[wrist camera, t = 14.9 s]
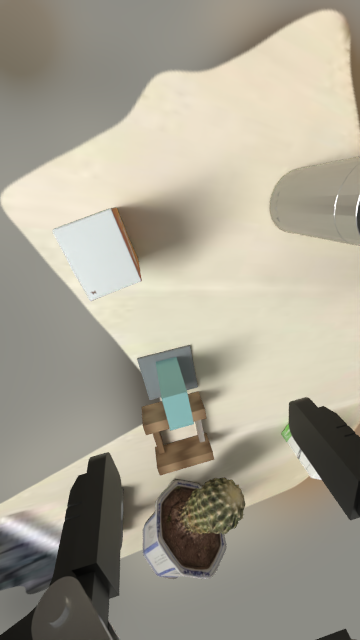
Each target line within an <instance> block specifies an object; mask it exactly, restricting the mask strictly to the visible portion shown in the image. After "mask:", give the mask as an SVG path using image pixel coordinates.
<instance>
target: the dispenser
mask: <svg viewBox="0 0 360 640" xmlns="http://www.w3.org/2000/svg"><path fill="white" fill-rule="evenodd" d="M188 398H189V403H190V408H191V412H192V417H193V422H195V424H196V429H197V434H198V435H197V436H194V437H190V438H187V439H183V440H179V441H176V442H172V443H169V444H165V445H164V444H163V441H162V438H161V434H160V431H163V430H166V429H170V427H169V424H168V420H167V416H166V413H165V409H164V405H163V402H162V401H161V402H158V403H154V404H151V405H147V406H143V407H142V419H143V428H144V431H145V434H146V435H148V434H152V433H153V436H154V439H155V442H156V445H157V447H155V451H156V461H157V469H158V472H159V474H160V475H163V474H166V473H170V472H173V471H177V470H180V469H183V468H187V467H190V466H194V465H197V464H200V463H204V462H207V461H211V460H214V457H213V451H212V448H211V445H210V443H209V440H208V437H207V434H206V433H204V432H203V427H202V422H201V420H202V419H206V413H205V408H204V405H203V403H202V400H201V397H200V394H199V392H195V393H191V394H188Z"/></svg>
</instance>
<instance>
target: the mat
mask: <svg viewBox="0 0 360 640" xmlns="http://www.w3.org/2000/svg"><path fill="white" fill-rule="evenodd" d="M173 357H177V361H178V364H179V367H180V370H181V374H182V377H183V380H184V383H185V387H186V390H189V389H193V388H197V387H198V385H197V380H196V375H195V370H194V364H193V359H192V354H191V348H190V345H188V346H184V347H180V348H176V349H172V350H168V351H164V352H160V353H156V354H152V355H148V356H144V357H140V358H137V360H138V363H139V367H140V370H141V373H142V376H143V380H144V383H145V386H146V389H147V392H148V396H149V399H150V400H152V399H156V398H159V397H161V392H160V386H159V380H158V374H157V368H156V362H157V361H161V360H165V359H169V358H173Z"/></svg>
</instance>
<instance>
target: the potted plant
mask: <svg viewBox="0 0 360 640" xmlns="http://www.w3.org/2000/svg"><path fill="white" fill-rule="evenodd" d="M155 507H156V511H155V512H154V513H153V514H152V516H151V517H150V518H149V519H148V520H147V522H146V523H145V525H144V528H143V555H144V557H145V559H146V561H147V562H148V563H149V565H150V566H151V568H152V570H153V571H154V572H155V574H156V575H157V576H160V577H165V578H170V579H174V578H177V577H179V576H186V577H195V578H201V579H204V578H206V579H210V578H211V577H213V575H214V574H215V573H216V571H217V569H218V566H219V564H220V561H221V559H222V557H223V555H224V553H225V551H226V541H225V535H224V534H226V533H227V532H228V531H229V530H230V529H233V528H236V526H237V524H238V521H239V520H241V519H242V518H243V510H244V507H245V501H244V495H243V494H242V492H241V489H240V488H239V485H235V483H234V481H233V480H227V479H226V478H219V479H218V478H214V479H213V480H209V481H208V482H205V485H203V486H202V487H201V486H200V485H199V484H197V483H193V482H189V481H188V482H186V481H183V480H173V481H172V482H171V483H170V484H169V486H168V487H167V488H166V489H165V490H164V491H163V492H162V493H161V495H160V496H159V498H158V499H157V501H156V504H155Z"/></svg>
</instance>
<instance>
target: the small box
mask: <svg viewBox="0 0 360 640" xmlns="http://www.w3.org/2000/svg"><path fill="white" fill-rule="evenodd" d="M53 234H54V236H55V238H56V240H57V241H58V243H59V245H60V247H61V249H62V251H63V253H64V255H65V257H66V259H67V261H68V263H69V265H70V267H71V269H72V271H73V272H74V274H75V276H76V278H77V279H78V281H79V282H80V284H81V286H82V288H83V289H84V291H85V293H86V295H87V297H88V298H89V300H90V301H93V300H95V299H98V298H100V297H102V296H105V295H107V294H110V293H112V292H115V291H117V290H120V289H123V288H125V287H128V286H130V285H133V284H135V283H138V282H141V281H142V279H141V274H140V268H139V261H138V257H137V255H136V253H135V251H134V249H133V246H132V244H131V242H130V239H129V237H128V235H127V232H126V230H125V227H124V225H123V222H122V220H121V217H120V215H119V212H118V210H117V208H116V207H115V208H110V209H107V210H104V211H101V212H98V213H95V214H93V215H90V216H87V217H84V218H82V219H79V220H76V221H74V222H71V223H68V224H65V225H63V226H60V227H57V228H55V229H53Z"/></svg>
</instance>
